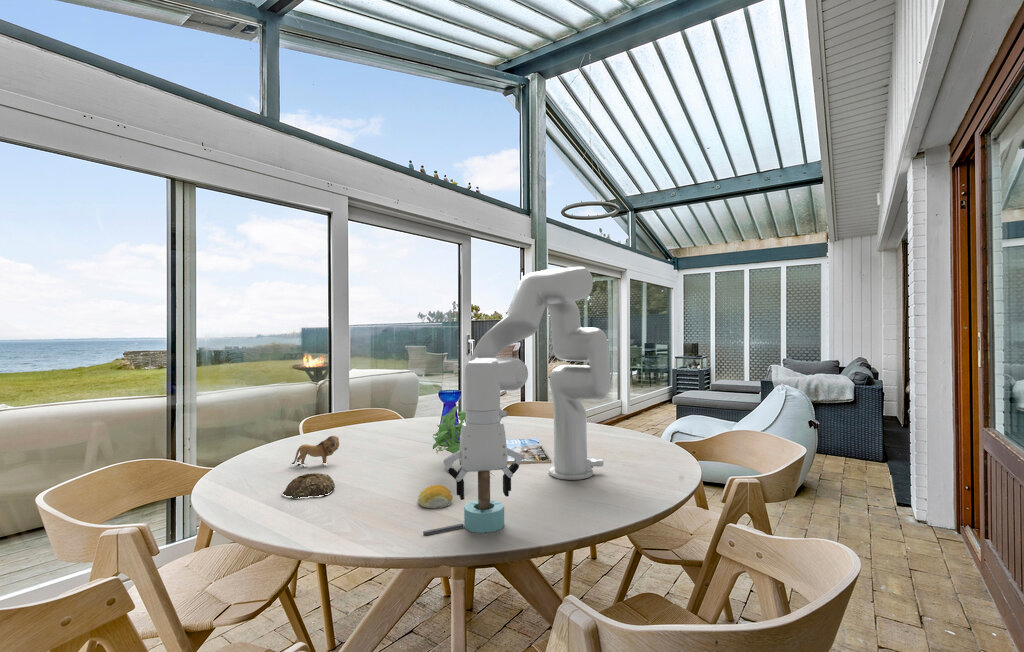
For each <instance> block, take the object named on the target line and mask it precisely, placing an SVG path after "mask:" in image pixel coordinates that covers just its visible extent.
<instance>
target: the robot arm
mask: <svg viewBox="0 0 1024 652" xmlns="http://www.w3.org/2000/svg"><path fill="white" fill-rule="evenodd" d="M593 279H594V278H593V275H592V273H591V272H590V271H589V269H588V268H586V267H584V266H574V267H573V266H572V267H563V268H550V269H543V270H540V271H534V272H533V271H532V272H529V273H526V274H525V275H523V276H522V277H521V279H520V280H519V282H518V284H517V287H516V290H515V292H514V295H513V297H512V299H511V303H510V305H509V307H508V309H507V312H506V315H505V317H504V318H502V319H501V320H499V322H497V323H496V324H495V325H493V326H492V327H491V328H490V329H489V330H488V331H487V332H485V333H484V335H483V336H481V338H480V339H479V340H478V341H477V343H476V346H475V347H474V348H473V352H472V354H471V357H470V359H469V361H467V363H466V364H465V367H464V369H465V370H464V382H465V383H464V384H465V385H464V386H465V387H464V388H465V391H464V394H465V396H464V397H465V401H464V402H465V411H466V423H465V422H464V423H462V427H461V434H460V435H459V438H460V439H459V444H460V450H459V451H457V452H456V453H454V454H453V453H451V454H450V455H449V456H447V457H445V458H444V459H443V460H442V463H443V465H444V466H445V467H446V468H445V469H446V471H447V472H448V474H449V475H450V476H451V477H452V478H453V479H454V480H455V481H456V486H455V488H456V496H459V499H460V501H464V500H465V482H464V477H465V476H466V475H467V473H475V472H477V473H478V471H490V472H491V471H500V470H501V471H502V472H503V475H502V493H503V494H504V496H505V497H509V496H510V495H509V494H510V492H511V491H512V478H513V476H514V474H515V473H516V472H517V471H518V469H520V465H521V463H522V461H523V459H524V455H522V454H521V453H519V452H517V451H515V450H512V449H510V448H508V447H507V446H508V445H507V437H506V430H505V425H504V421H502V419H503V418H507V417H508V412H507V410H503V409H501V391H510V392H511V391H516V390H517V391H518V390H519V389H521V388H522V387H523V386H525V384H526V383H527V381H528V378H529V377H528V376H529V371H528V370H529V369H528V367H527V365H526V364H525V362H524V361H522V360H521V359H520V358H516V357H506V356H505V357H504V356H503V357H502V356H498V355H499V354H500V352H502V351H503V350H504V349H506V348H508V347H509V346H511V345H514V344H516V343H519V342H521V341H523V340H525V339H528V338H530V337H531V336H533V335H534V334H535V333H536V332H537V331H538V329H539V326H540V323H541V321H542V318H543V316H544V315H543V314H544V312H545V309H546V308H547V311H548V312H549V316H550V328H551V330H550V331H551V342H552V343H551V344H552V351H553V355H554V357H555V358H556V359H558V360H561V361H568V362H587V363H588V365H582V364H562V365H559V366H555V368H553V370H552V371H551V372H550V376H549V387H550V392H551V396H552V404H553V407H552V408H553V449H554V450H553V452H554V453H553V459H554V460H553V461H554V463H553V464H554V465H553V466H551V467H550V468H549V470H548V474H549V475H550V476H552V477H553V478H555V479H560V480H567V481H569V480H571V481H574V480H584V479H589V478H591V477H592V476H593V474H594V473H593V472H594V471H593V468H594V467H595V468H599V467H604V460H603V459H596V458H589V457H588V443H587V442H588V435H587V433H588V432H587V431H588V430H587V429H588V427H587V425H588V424H587V418H588V417H587V410H586V409H585V406H584V405H583V403H582V401H581V400H582V399H583V400H593V401H594V400H599V401H601V400H604V399H605V398H607V397H608V396H609V394H610V391H611V390H610V389H611V369H610V368H611V367H610V351H609V350H610V349H609V341H608V338H607V335H606V333H605V332H604V331H603V330H602V329H601V328H597V327H582V325H581V324H582V323H581V313H580V308H579V306H578V304H577V303H576V302H577V301H580V300H583V299H586V298H587V297H589V295H591V292H592V290H593V286H594V280H593ZM508 456H509V457H511V458H513V459H514V460H513V462H512V464H510V465H509V467H508V459H509V458H508ZM458 460H459V461H458ZM455 461H458V462H459V465H460V467H459V468H458V470H456V469H455V468H454V467H453V466H452V465H453V464H452V465H451V463H454V462H455Z"/></svg>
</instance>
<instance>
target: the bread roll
mask: <svg viewBox="0 0 1024 652" xmlns="http://www.w3.org/2000/svg"><path fill="white" fill-rule="evenodd" d="M417 501H418V504H419V505H420V506H421V507H422V508H425V507H426V508H425V509H437V507H441V508H445V507H447V506H449V505H451V503H452V501H453V494H452V493H451V490H450V489H449V488H448V487H447V486H445V485H442V484H441V485H440V484H433V485H429V486H427V487H426V488H424V489H423V490H422V491H420V493H419V495H418V498H417ZM448 504H449V505H448ZM444 506H445V507H444Z"/></svg>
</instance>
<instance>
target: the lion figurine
mask: <svg viewBox="0 0 1024 652" xmlns="http://www.w3.org/2000/svg"><path fill="white" fill-rule="evenodd" d="M339 439H340V438H339V436H336V435H330V436H328V437H327V438H326V439H324V440H322V441H320V442H319V443H318V444H316V445H315V444H313V445H311V444H302V445H300V446H299V447H298V449H296V450H297V451H296V453H295V458H294V460H293V462H292V463H291V464H294V465H295V463H297V462H300V463H301V465H302V464H305V465H306V463H305V460H306V458H307V455H308V456H310V457H313V458H318V457H319V458H320V457H321V458H322V461H323V462H322V464H323V463H326V462H327V458H328V457H330V456H333V454H334V452H336V451H337V450H338V449H339V446H340V441H339ZM299 454H300V455H299Z"/></svg>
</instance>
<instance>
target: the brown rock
mask: <svg viewBox="0 0 1024 652" xmlns="http://www.w3.org/2000/svg"><path fill="white" fill-rule="evenodd" d="M334 488H336V487H335V483H334V480H333V479H332V477H331V475H329V474H325V473H320V472H313V473H312V472H311V473H304V474H302V475H299V476H297V477H295V478H293V479H292V480H291V481H290V482H289V483H288V484H287V486H286V488H285V489H284V491H283V492H282V494H284V495H286V496H292V497H293V498H298V497H299V498H300V497H308V496H319V495H325V494H328V493H330V492H331V491H332V492H333V491H334V490H335V489H334ZM332 492H331V493H332ZM331 493H330V494H331ZM293 498H292V499H293Z"/></svg>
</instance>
